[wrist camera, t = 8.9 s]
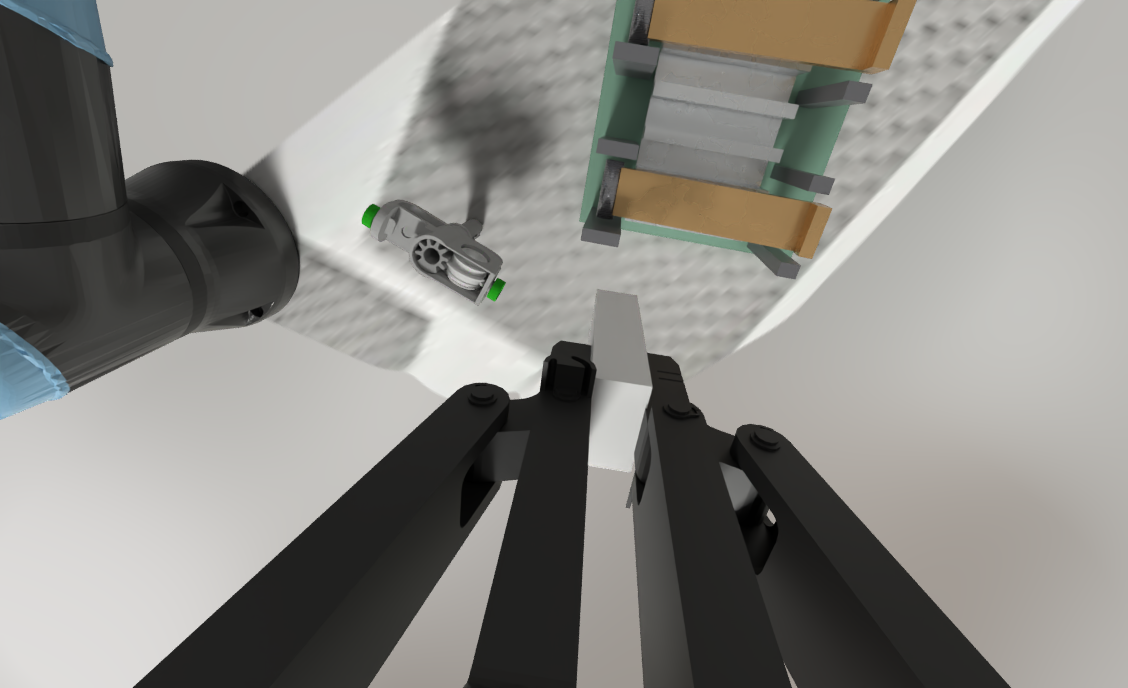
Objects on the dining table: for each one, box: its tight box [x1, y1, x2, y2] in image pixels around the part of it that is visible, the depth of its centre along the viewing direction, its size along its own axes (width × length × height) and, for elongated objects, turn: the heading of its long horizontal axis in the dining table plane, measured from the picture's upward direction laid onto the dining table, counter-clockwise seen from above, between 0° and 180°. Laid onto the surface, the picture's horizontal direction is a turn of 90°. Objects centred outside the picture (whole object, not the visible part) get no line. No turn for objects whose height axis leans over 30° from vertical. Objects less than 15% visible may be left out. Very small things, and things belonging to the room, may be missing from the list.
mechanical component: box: [362, 200, 506, 306], centre depth 35 cm, size 3×10×10 cm, turn 60°
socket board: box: [579, 0, 890, 258], centre depth 34 cm, size 17×17×2 cm
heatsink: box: [625, 43, 813, 242], centre depth 31 cm, size 9×15×4 cm, turn 171°
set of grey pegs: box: [581, 0, 880, 279], centre depth 29 cm, size 14×16×8 cm
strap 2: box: [596, 159, 832, 259], centre depth 29 cm, size 14×4×2 cm, turn 81°
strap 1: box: [628, 0, 917, 74], centre depth 25 cm, size 14×4×2 cm, turn 81°
